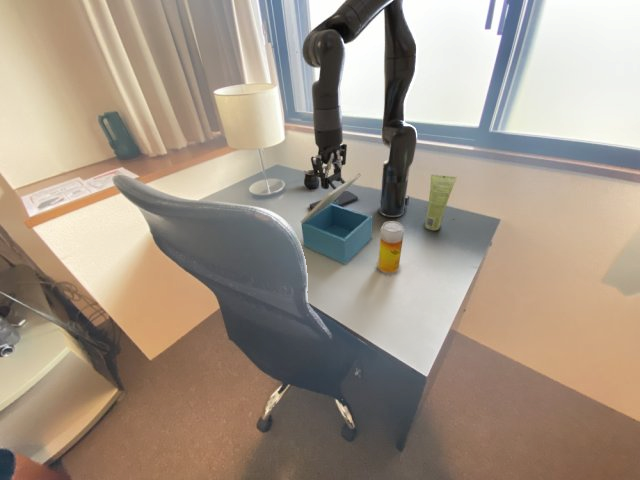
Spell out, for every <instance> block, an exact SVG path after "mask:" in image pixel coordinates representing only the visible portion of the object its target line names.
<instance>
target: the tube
mask: <svg viewBox="0 0 640 480" xmlns="http://www.w3.org/2000/svg"><path fill="white" fill-rule="evenodd" d="M457 178H458V177H457V176H452V175H451V176H450V175H442V174H441V175H439V174H432V173H431V174H430V189H429V197H428V204H427V211H426V217H425V223H424V228H425V229H427V230H429V231H438V230H440V227H441V223H442V221H443V217H444V214H445V211H446V207H447V205H448V201H449V199H450V196H451V193H452V190H453V188H454V185H455V183H456V181H457Z"/></svg>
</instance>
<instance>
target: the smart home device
mask: <svg viewBox="0 0 640 480" xmlns="http://www.w3.org/2000/svg"><path fill="white" fill-rule="evenodd" d="M321 200H322V199H320V200H317V201H314V202H312V203H310V204H309V209H310V211H311V210H312V209H313V208H314V207H315V206H316V205H317V204H318V203H319V202H320V201H321ZM358 200H359V196H358V195H356V194H354V193H352V192H350V191H349V190H345V191H344V192H343V193H342V194H341V195H339V196H338V197H337V198H336V199H335V200H334V201H333V202H332V203H331V204H335V205H338V206H341V207H345V206H347V205H349V204H352V203H356V202H358Z"/></svg>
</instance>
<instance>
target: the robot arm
mask: <svg viewBox="0 0 640 480" xmlns="http://www.w3.org/2000/svg"><path fill="white" fill-rule="evenodd" d="M406 1H407V0H344V2H343V3H342V4H341V5H340V6H339V7H338V8H337V10H336V11H335V12H334V13H332V14H331V15H330V16H328V17H327V18H325V19H324V20H323V21H322V22H321V23H319V24H317V26H315V27H314V28H313V29H312V30H311V31H310V32H308V34H307V35H306V37H305V38H304V41H303V44H302V49H301V53H302V57H303V61H304V62H305V63H306V64H307V65H308V66H309V67H311V68H314V69H319V76H318V80H315V81H314V82H313V83H312V85H311V100H312V111H313V112H312V120H313V122H312V123H313V132H314V143H315V145H316V146H317V148H318V151H317V155H315V156H311V157H310V162H311V167H312V170H313V171H314V175H315V176H316V177H318V178H319V180H320V186H321V187H320V188H321V189H323V190H329V189H330V184H329V179H328V177H329V173H330V170H331V168H332V167H333V174H334V173H336V172H340V174H341V175H342V169H343V166H345V165H346V163H347V151H348V145H347V144H346V143H343V142H344V141H343V140H344V139H343V138H344V137H343V114H342V107H341V83H342V80H343V73H344V67H345V63H346V62H345V61H346V45H348V44H350V43H353V41H355V40H356V39H357V38H358V37H359V36H360V35H361V34H362V33H363V32H364V30H366V29H367V28H368V27H369V25H370V24H371V23H372V22H373V21H374V20H375V19H376V18H377V16H379V15H380V14H381V13H382V11H383V16H384V17H383V19H384V52H383V53H384V56H383V81H384V82H383V83H384V84H383V115H382V122H381V123H382V125H381V133H380V134H381V136H380V137H381V141H382V143H383V145H384V147H386V148H387V149H389V154H388V155H389V156H388V158H387V159H386V160H385V161H383V163H382V173H381V187H380V199H379V211H378V212H379V213H380V215H381V216H384V217H386V218H399V217H402V216H403V215H404V213H405V205H407V204H409V202H410V195H407V191H408V182H409V175H410V168H411V166H412V164H413V162H414V158H415V153H416V147H417V144H418V143H417V142H418V133H417V129H416V127H414V126H413V125H411V124H410V123H407V122H406V103H407V99H408V96H409V93H410V91H411V89H412V87H413V84H414V81H415V79H416V75H417V71H418V56H419V55H418V54H419V44H418V40H417V37H416V33H415V31H414V28H413V26H412V24H411V21H410V19H409V16H408V11H407V6H406V5H407V4H406V3H407V2H406ZM334 182H341V181H340V180H339V179H336V180H334Z"/></svg>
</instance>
